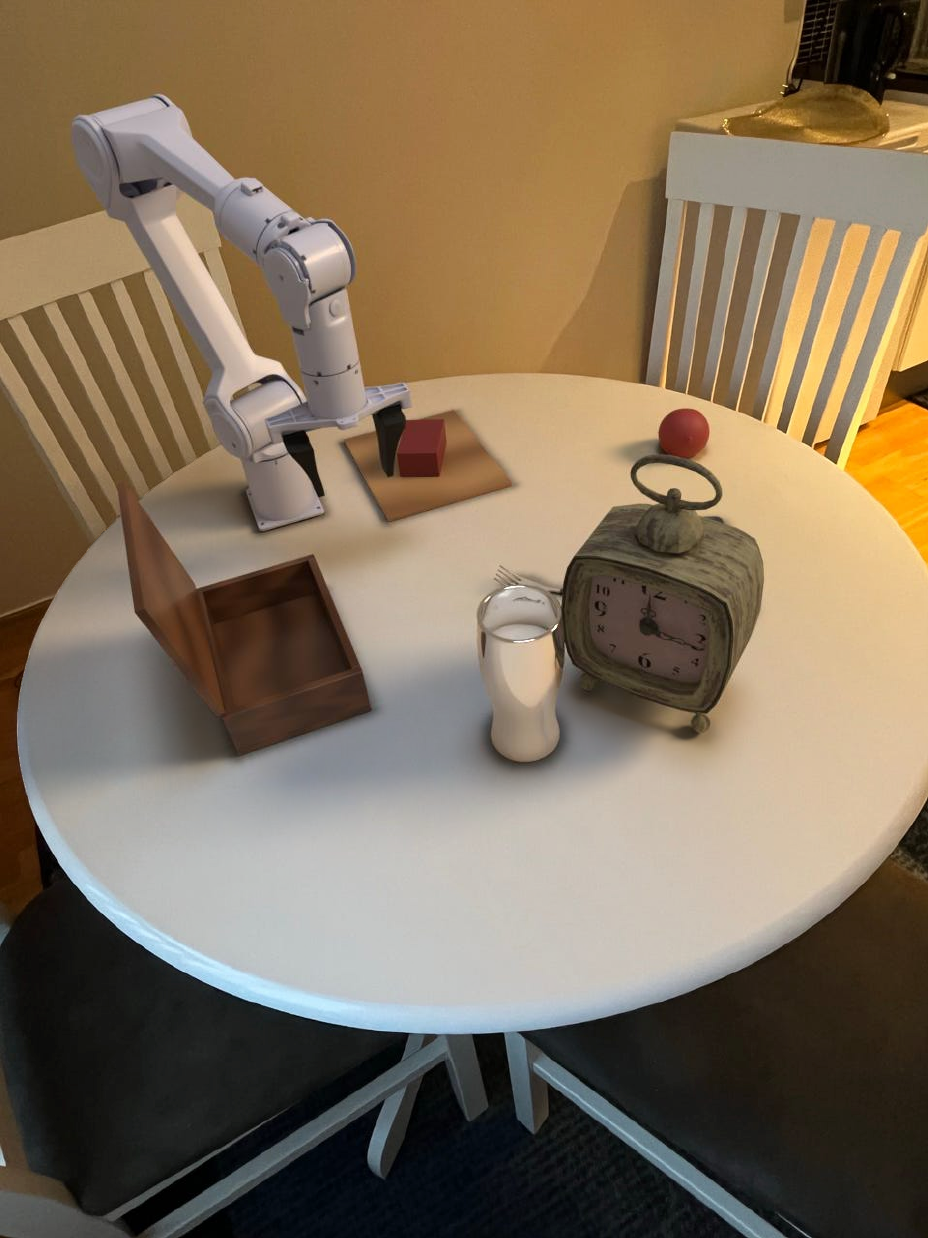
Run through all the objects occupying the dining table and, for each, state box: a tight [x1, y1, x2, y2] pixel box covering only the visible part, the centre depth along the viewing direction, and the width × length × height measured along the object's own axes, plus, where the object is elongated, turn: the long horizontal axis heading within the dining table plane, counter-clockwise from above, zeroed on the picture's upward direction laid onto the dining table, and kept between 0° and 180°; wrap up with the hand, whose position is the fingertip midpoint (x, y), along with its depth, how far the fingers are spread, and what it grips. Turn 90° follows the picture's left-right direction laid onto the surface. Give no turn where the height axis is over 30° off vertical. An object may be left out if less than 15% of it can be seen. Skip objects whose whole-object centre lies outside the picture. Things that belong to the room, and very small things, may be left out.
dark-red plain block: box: [397, 419, 447, 477], centre depth 106 cm, size 5×8×4 cm, turn 174°
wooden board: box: [343, 409, 513, 523], centre depth 107 cm, size 20×16×1 cm
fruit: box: [657, 408, 710, 459], centre depth 102 cm, size 6×6×8 cm
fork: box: [493, 564, 563, 595], centre depth 86 cm, size 3×16×2 cm, turn 73°
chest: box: [196, 553, 373, 757], centre depth 81 cm, size 13×19×5 cm
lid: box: [116, 481, 225, 717], centre depth 73 cm, size 13×19×1 cm
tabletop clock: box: [560, 453, 765, 734], centre depth 68 cm, size 14×9×25 cm, turn 58°
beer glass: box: [476, 583, 566, 763], centre depth 69 cm, size 7×7×15 cm
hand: (354, 481), depth 89 cm, fingers open, 7 cm apart
